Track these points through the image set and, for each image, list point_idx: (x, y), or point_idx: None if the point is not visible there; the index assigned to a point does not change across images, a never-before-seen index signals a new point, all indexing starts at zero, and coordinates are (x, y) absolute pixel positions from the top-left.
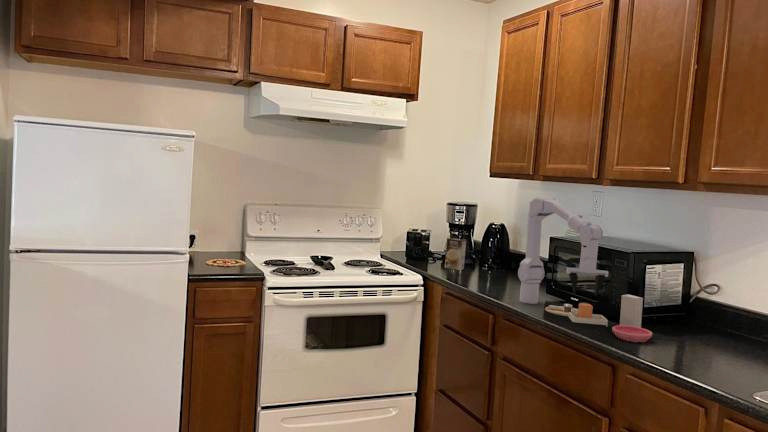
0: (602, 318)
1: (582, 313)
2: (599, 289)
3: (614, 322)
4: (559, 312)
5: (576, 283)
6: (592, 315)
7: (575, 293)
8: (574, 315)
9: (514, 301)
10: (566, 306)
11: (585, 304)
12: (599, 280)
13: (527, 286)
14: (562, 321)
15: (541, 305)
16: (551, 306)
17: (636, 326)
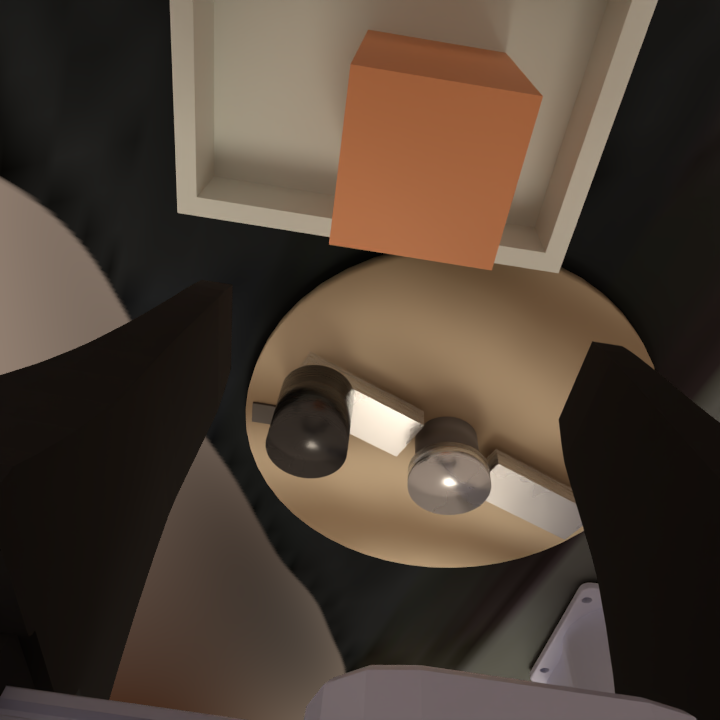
0: (200, 102)
1: (497, 68)
2: (123, 326)
3: (59, 190)
4: (553, 395)
5: (714, 463)
6: (293, 209)
7: (605, 346)
8: None
9: None
10: (478, 455)
11: (417, 209)
12: (35, 436)
13: None
14: (695, 101)
15: (547, 600)
16: None
17: None
